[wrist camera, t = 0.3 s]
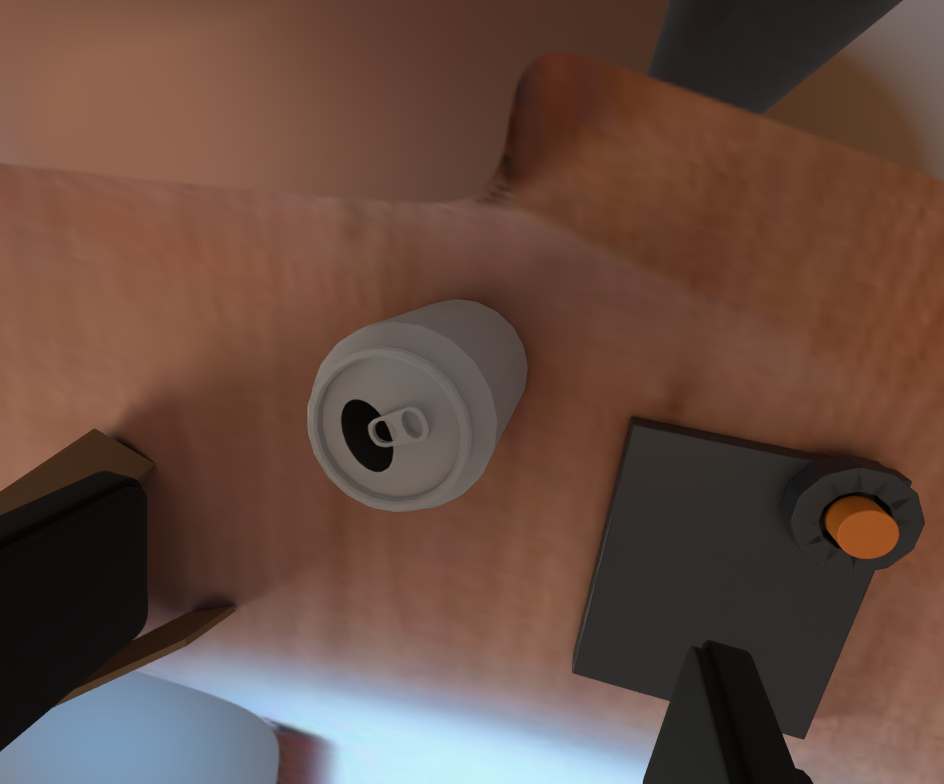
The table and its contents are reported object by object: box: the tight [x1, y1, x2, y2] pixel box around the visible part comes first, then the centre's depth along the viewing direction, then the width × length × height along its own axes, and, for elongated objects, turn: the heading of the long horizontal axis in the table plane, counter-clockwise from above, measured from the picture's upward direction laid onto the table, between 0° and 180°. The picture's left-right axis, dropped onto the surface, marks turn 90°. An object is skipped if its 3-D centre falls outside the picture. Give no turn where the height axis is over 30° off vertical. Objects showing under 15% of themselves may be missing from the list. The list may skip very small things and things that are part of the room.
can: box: [307, 299, 528, 512], centre depth 25 cm, size 8×8×12 cm
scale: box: [572, 417, 925, 739], centre depth 29 cm, size 17×13×3 cm
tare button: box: [825, 496, 899, 559], centre depth 25 cm, size 2×2×2 cm
